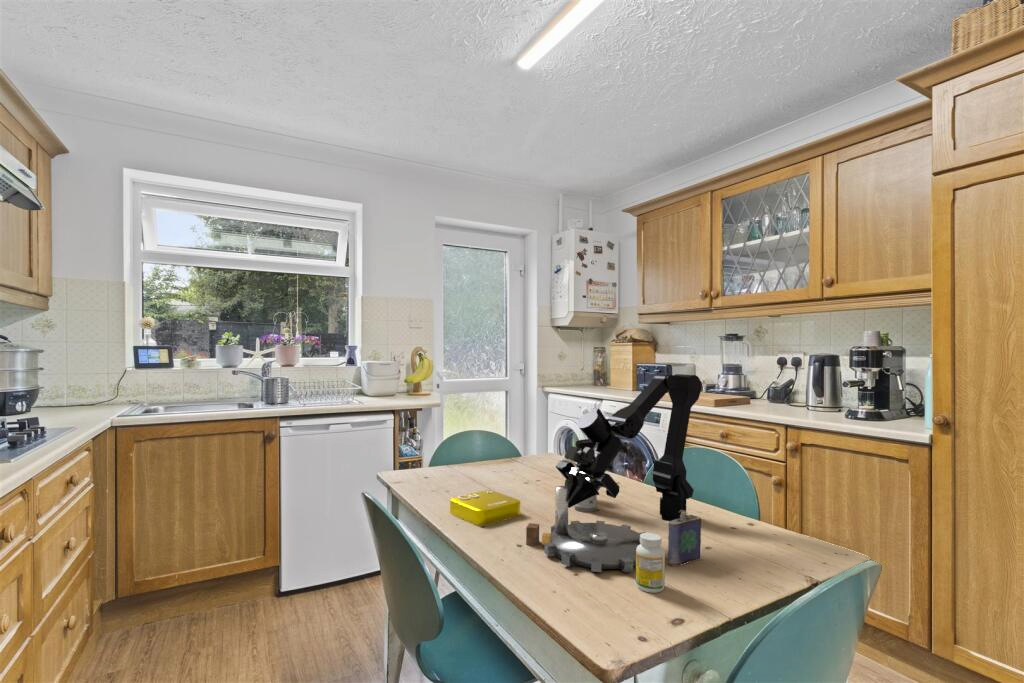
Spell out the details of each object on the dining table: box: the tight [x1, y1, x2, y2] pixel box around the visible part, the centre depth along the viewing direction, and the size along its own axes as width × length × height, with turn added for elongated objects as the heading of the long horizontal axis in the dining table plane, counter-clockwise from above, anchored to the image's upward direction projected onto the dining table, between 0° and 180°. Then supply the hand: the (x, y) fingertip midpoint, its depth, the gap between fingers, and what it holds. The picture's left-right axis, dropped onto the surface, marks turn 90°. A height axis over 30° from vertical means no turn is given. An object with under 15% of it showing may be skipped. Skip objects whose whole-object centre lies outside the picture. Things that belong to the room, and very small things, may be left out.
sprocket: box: [541, 485, 647, 573], centre depth 114 cm, size 25×25×12 cm
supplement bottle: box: [635, 532, 666, 594], centre depth 97 cm, size 5×5×10 cm
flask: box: [667, 510, 702, 567], centre depth 110 cm, size 9×3×11 cm, turn 121°
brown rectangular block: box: [525, 522, 540, 547], centre depth 119 cm, size 2×3×4 cm
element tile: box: [449, 489, 521, 527], centre depth 140 cm, size 15×15×5 cm
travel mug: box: [574, 438, 598, 513], centre depth 145 cm, size 6×7×20 cm
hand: (566, 505), depth 120 cm, fingers closed
